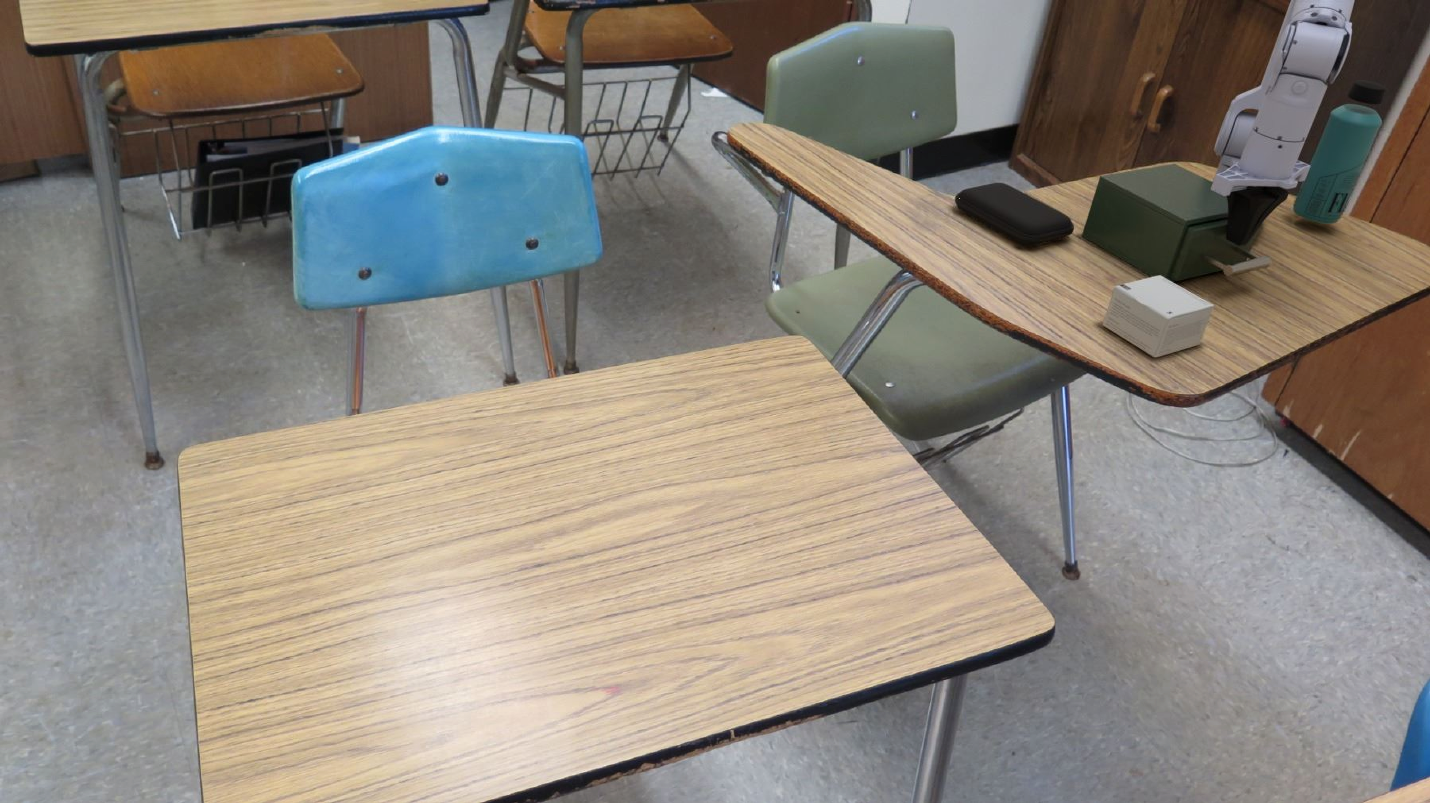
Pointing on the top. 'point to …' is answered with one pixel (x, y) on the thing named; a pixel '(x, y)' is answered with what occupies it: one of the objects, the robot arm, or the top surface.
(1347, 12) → the robot arm
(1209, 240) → the drawer
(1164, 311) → the small box
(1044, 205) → the carrying case
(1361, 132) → the beverage bottle
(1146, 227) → the cabinet
